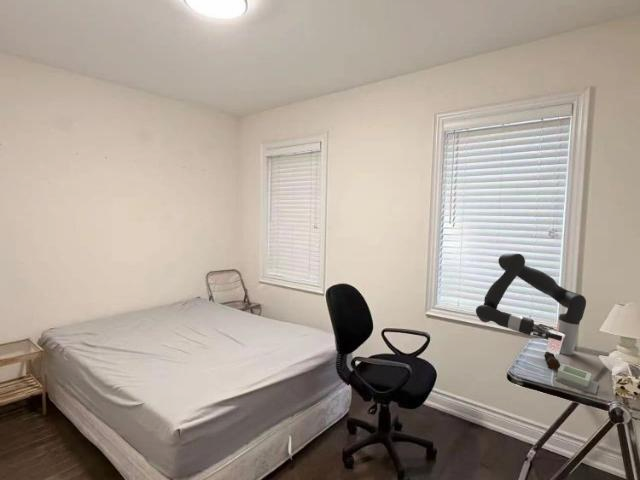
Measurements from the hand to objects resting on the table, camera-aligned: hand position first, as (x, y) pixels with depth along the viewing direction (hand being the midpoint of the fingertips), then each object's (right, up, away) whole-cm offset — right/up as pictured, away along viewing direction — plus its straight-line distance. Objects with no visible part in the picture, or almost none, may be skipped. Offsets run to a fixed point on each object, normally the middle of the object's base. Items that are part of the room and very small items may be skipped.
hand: (562, 336), depth 150 cm
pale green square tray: (+7, -20, +1) cm, 22 cm away
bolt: (+7, -19, +19) cm, 27 cm away
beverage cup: (-3, -8, +3) cm, 9 cm away
